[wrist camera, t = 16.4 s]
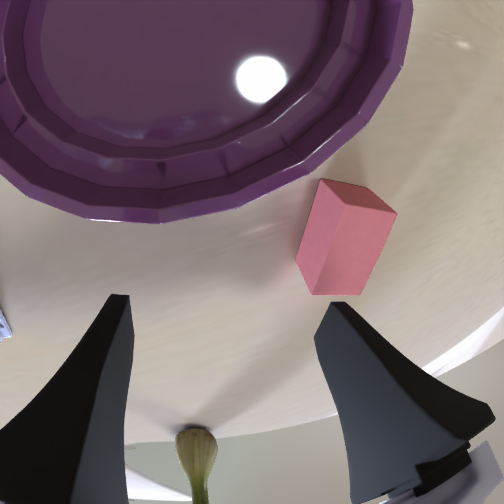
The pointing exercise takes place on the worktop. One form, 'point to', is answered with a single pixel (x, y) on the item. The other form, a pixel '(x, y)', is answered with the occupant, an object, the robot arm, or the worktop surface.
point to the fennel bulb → (196, 460)
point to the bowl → (185, 98)
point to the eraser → (343, 238)
